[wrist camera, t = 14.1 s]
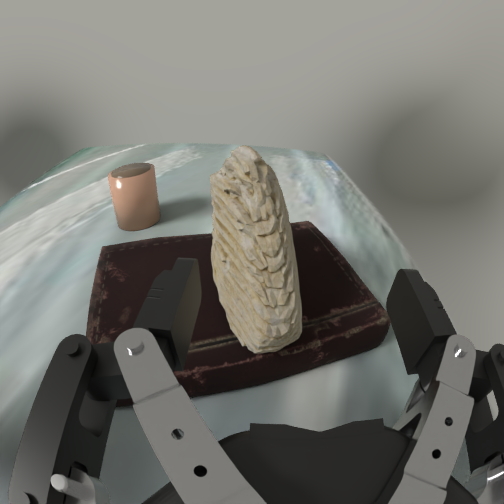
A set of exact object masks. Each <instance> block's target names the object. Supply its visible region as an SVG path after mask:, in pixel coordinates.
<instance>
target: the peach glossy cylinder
mask: <svg viewBox="0 0 504 504" xmlns="http://www.w3.org/2000/svg"><path fill="white" fill-rule="evenodd" d="M108 180H109V185H110V190H111V196H112V201H113V205H114V210H115V215H116V219H117V224H118V227H119V228H120V229H122V230H126V231H137V230H142V229H145V228H148V227H150V226H152V225H154V224H155V223H157V222H158V221H159V219H160V217H161V215H160V208H159V201H158V193H157V186H156V177H155V169H154V165H152V164H149V163H134V164H129V165H125V166H122V167H119V168H117V169H115V170H113V171H112V172H110V173H109V174H108Z"/></svg>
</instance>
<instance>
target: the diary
mask: <svg viewBox="0 0 504 504" xmlns="http://www.w3.org/2000/svg"><path fill="white" fill-rule="evenodd" d="M290 225H291V230H292V237H293V244H294V248H295V256H296V261H297V269H298V278H299V292H300V297H301V305H302V320H301V321H302V333H301V335H300V337H299V338H298V339H297V340H296V341H294V342H292V343H290V344H289V345H286V346H285V347H283V348H282V349H280V350H278V351H276V352H266V353H254V352H252V351H250V350H249V349H248V348H247V346H242V345H241V343H240V341H239V340H238V338H237V337H236V335H235V334H234V333H233V331H232V330H231V329H230V325H229V322H228V320H227V317H226V311H225V309H224V308H223V306H222V304H221V302H220V301H219V293H218V289H217V286H216V284H215V282H214V279H213V268H212V262H211V249H212V245H213V244H212V239H213V236H212V234H198V235H184V236H171V237H158V238H152V239H145V240H139V241H133V242H127V243H121V244H115V245H109V246H103V247H102V249H101V253H100V257H99V261H98V265H97V270H96V274H95V279H94V284H93V289H92V294H91V299H90V306H89V314H88V322H87V331H86V337H87V338H88V339H89V340H90V342H91V344H98V343H108V342H114V341H116V339H117V337H118V336H119V335H120V334H121V333H123V332H124V331H126V330H129V329H132V327H133V325H134V323H135V321H136V318H137V316H138V314H139V312H140V310H141V307H142V305H143V303H144V301H145V299H146V298H147V294H148V292H149V290H150V289H151V286H152V284H153V281H154V279H155V278H156V277H157V276H158V275H159V274H160V273H161V272H162V271H163V270H172V269H173V266H174V264H175V262H176V260H177V258H193V259H197V260H198V265H199V273H200V282H201V303H200V307H199V311H198V315H197V319H196V322H195V326H194V330H193V334H192V338H191V342H190V346H189V350H188V354H187V358H186V362H185V366H184V370H183V372H181V371H174V373H173V374H174V376H175V377H176V379H177V381H178V383H179V384H181V385H182V387H183V388H184V390H185V391H186V393H187V395H188V396H189V397H195V396H202V395H208V394H214V393H219V392H225V391H230V390H235V389H240V388H245V387H250V386H254V385H259V384H262V383H266V382H270V381H273V380H277V379H280V378H283V377H287V376H290V375H293V374H297V373H300V372H303V371H306V370H309V369H312V368H315V367H318V366H321V365H324V364H327V363H330V362H334V361H337V360H340V359H343V358H346V357H349V356H352V355H355V354H358V353H361V352H364V351H367V350H370V349H372V348H375V347H377V346H378V345H380V344H381V343H382V341H383V340H384V338H385V336H386V334H387V332H388V329H389V326H390V323H391V321H390V318H389V315H388V313H387V312H386V310H385V309H384V308H383V307H382V305H381V304H380V303H378V301H377V299H376V298H375V297H374V295H373V294H372V293H371V292H370V290H369V289H368V288H367V287H366V285H365V284H364V283H363V282H362V280H361V279H360V278H359V276H358V275H357V274H356V272H355V271H354V270H353V268H352V267H351V266H350V264H349V263H348V262H347V261H346V259H345V258H344V257H343V256H342V255H341V253H340V252H339V251H338V250H337V249H336V248H335V247H334V245H333V244H332V243H331V242H330V241H329V240H328V239H327V238H326V237H325V236H324V235H323V234H322V233H321V232H320V231H319V230H318V229H317V228H316V227H315V226H314V225H313V224H312V223H311V222H309V221H304V222H296V223H290ZM128 405H133V399H132V398H128V399H117V402H116V406H115V407H117V406H128Z"/></svg>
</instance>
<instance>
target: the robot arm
mask: <svg viewBox="0 0 504 504" xmlns="http://www.w3.org/2000/svg"><path fill="white" fill-rule="evenodd" d="M200 303H201V282H200V273H199V265H198V260H197V259H193V258H177V260H176V262H175V264H174V266H173V269H172V270H163V271H162V272H161V273H160V274H159V275H158V276H157V277H156V278H155V279H154V281H153V284H152V286H151V289H150V290H149V292H148V294H147V298H146V299H145V301H144V303H143V305H142V307H141V310H140V312H139V314H138V316H137V318H136V321H135V323H134V325H133V327H132V329H129V330H126V331H124V332H123V333H121V334H120V335H119V336H118V337H117V339H116V341H114V342H108V343H98V344H91V342H90V340H89V339H88V338H87V337H86V336H84V335H81V334H74V335H70V336H68V337H66V338H65V339H63V340H62V341H61V342H60V344H59V345H58V347H57V349H56V351H55V353H54V356H53V358H52V360H51V362H50V364H49V367H48V369H47V371H46V374H45V376H44V378H43V381H42V383H41V385H40V388H39V390H38V393H37V396H36V398H35V401H34V403H33V406H32V409H31V412H30V414H29V417H28V420H27V423H26V426H25V429H24V432H23V435H22V439H21V442H20V445H19V449H18V452H17V456H16V460H15V464H14V468H13V472H12V476H11V481H10V485H9V491H8V499H9V503H10V504H110V494H109V491H108V489H107V487H106V486H105V484H104V483H103V482H102V481H101V480H99V476H100V471H101V466H102V461H103V456H104V451H105V447H106V442H107V438H108V434H109V429H110V425H111V421H112V417H113V413H114V410H115V406H116V402H117V399H128V398H132V399H133V408H134V410H135V413H136V415H137V417H138V420H139V422H140V424H141V426H142V428H143V430H144V432H145V434H146V437H147V439H148V441H149V443H150V445H151V447H152V448H153V450H154V452H155V454H156V456H157V458H158V460H159V462H160V463H161V465H162V467H163V469H164V471H165V472H166V474H167V476H168V477H169V479H170V482H169V483H168V484H166V485H165V486H164V487H163V488H161V489H160V490H159V491H158V492H156V493H155V494H154V495H152V496H151V497H150V498H148V499H147V500H146V501H144V502H143V503H141V504H504V345H502V344H495V345H494V346H493V347H492V348H491V349H490V351H489V352H484V351H480V350H475V347H474V345H473V344H472V342H471V341H470V340H469V339H468V338H466V337H464V336H462V335H457V333H456V331H455V329H454V327H453V325H452V323H451V321H450V319H449V317H448V315H447V313H446V311H445V309H443V305H442V303H441V301H439V298H438V296H437V294H436V292H435V290H434V289H433V288H432V287H431V286H430V285H429V284H428V283H427V282H424V281H423V279H422V277H421V275H420V273H419V272H418V271H417V270H413V269H400V270H399V271H398V272H397V275H396V277H395V280H394V282H393V285H392V287H391V290H390V292H389V295H388V297H387V302H386V308H387V312H388V315H389V318H390V321H391V324H392V327H393V330H394V332H395V335H396V338H397V341H398V345H399V348H400V351H401V354H402V357H403V360H404V364H405V367H406V371H407V374H408V375H410V374H418V375H419V379H418V380H417V381H416V383H415V385H414V388H413V390H412V392H411V395H410V397H409V399H408V401H407V403H406V406H405V408H404V410H403V412H402V414H401V416H400V418H399V419H398V421H397V422H396V423H395V425H394V426H393V427H392V428H389V427H385V426H384V423H383V418H381V419H374V420H365V421H355V422H351V423H348V424H345V425H342V426H339V427H336V428H333V429H329V430H326V431H322V432H318V431H312V430H308V429H303V428H298V427H294V426H289V425H285V424H255V423H250V431H244V432H240V433H236V434H233V435H231V436H228V437H226V438H224V439H222V440H220V441H218V442H217V440H216V439H215V437H214V436H213V434H212V433H211V431H210V430H209V428H208V427H207V425H206V424H205V422H204V421H203V419H202V417H201V416H200V414H199V413H198V411H197V409H196V408H195V406H194V405H193V403H192V401H191V400H190V398H189V396H188V395H187V393H186V391H185V390H184V388H183V387H182V385H181V384H179V383H178V381H177V379H176V377H175V376H174V374H173V373H174V371H181V372H183V370H184V366H185V362H186V358H187V354H188V350H189V346H190V342H191V338H192V334H193V330H194V326H195V322H196V319H197V315H198V311H199V307H200ZM492 390H493V392H494V395H495V398H496V402H497V405H498V410H499V412H498V416H497V418H496V420H495V421H493V418H492V414H491V410H490V407H489V403H488V400H487V395H488V394H489V393H490V392H491V391H492ZM464 437H465V439H466V445H467V451H468V457H469V464H470V471H471V476H470V479H469V481H468V482H466V483H465V485H464V487H463V486H462V485H461V484H460V483H459V482H458V481H457V480H456V479H455V478H453V477H452V476H451V473H452V470H453V468H454V465H455V463H456V460H457V457H458V455H459V452H460V449H461V446H462V443H463V440H464Z"/></svg>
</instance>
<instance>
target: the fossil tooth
mask: <svg viewBox="0 0 504 504" xmlns="http://www.w3.org/2000/svg"><path fill="white" fill-rule="evenodd" d="M261 158H262V157H261V156H260V155H259V154H258V153H257V151H255V150H254V149H252V148H251V147H249V146H244V145H242V146H240V147H238V148H237V149H236V150H232V151H231V157H229V158H227V159H225V162H224V164H223V167H222V168H221V169H220V171H218V172H216V173H214V174H212V175H210V182H211V195H212V205H213V207H214V209H213V211H214V212H213V214H212V218H213V227H214V228H213V232H212V236H213V239H212V244H213V245H212V249H211V262H212V268H213V279H214V282H215V284H216V286H217V289H218V293H219V301H220V302H221V304H222V306H223V308H224V309H225V311H226V317H227V320H228V322H229V325H230V329H231V330H232V331H233V333H234V334H235V335H236V337H237V338H238V340H239V341H240V343H241V345H242V346H247V348H248V349H249V350H250V351H252V352H254V353H266V352H276V351H278V350H280V349H282V348H283V347H285V346H286V345H289V344H290V343H292V342H294V341H296V340H297V339H298V338H299V337H300V335H301V333H302V321H301V320H302V305H301V297H300V292H299V278H298V269H297V261H296V256H295V248H294V244H293V237H292V230H291V225H290V222H289V215H288V211H287V208H286V204H285V201H284V197H283V193H282V190H281V188H280V185H279V183H278V179H277V177H276V175H275V173H274V171H273V170H272V168H271V167H270V166H269V165H268V164H266V163H265V161H264V160H262V159H261Z"/></svg>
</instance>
